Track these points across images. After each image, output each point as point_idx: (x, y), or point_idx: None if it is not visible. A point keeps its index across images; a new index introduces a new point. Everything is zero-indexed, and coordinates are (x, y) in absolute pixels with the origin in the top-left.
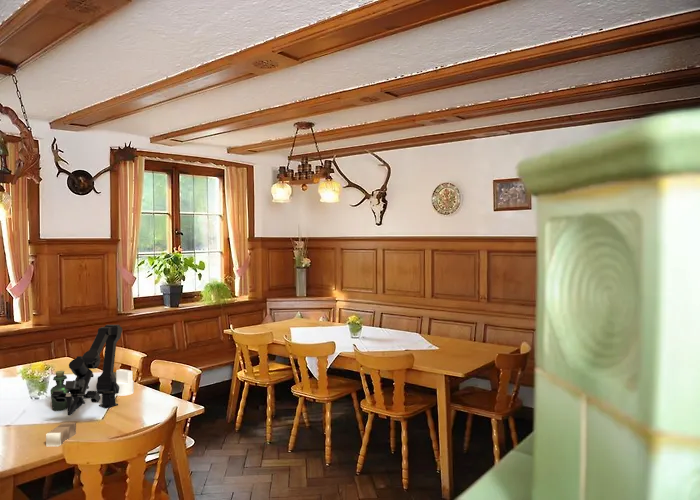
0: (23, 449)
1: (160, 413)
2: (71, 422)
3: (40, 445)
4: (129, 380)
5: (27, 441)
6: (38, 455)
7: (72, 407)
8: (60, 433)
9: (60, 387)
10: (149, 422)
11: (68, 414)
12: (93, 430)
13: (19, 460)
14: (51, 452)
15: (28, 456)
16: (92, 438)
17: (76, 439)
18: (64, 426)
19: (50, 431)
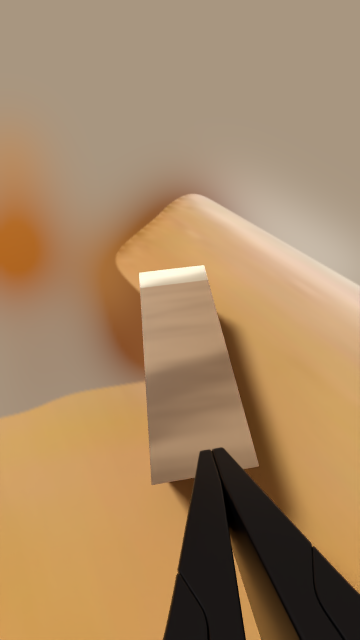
0: (260, 272)
1: None
2: (186, 465)
3: (230, 306)
4: None
5: (324, 332)
6: (170, 247)
7: (200, 547)
8: (140, 286)
9: None
10: None
11: (212, 450)
12: (69, 573)
13: (200, 220)
14: (143, 267)
15: (196, 239)
16: (31, 414)
17: (112, 388)
18: (182, 371)
19: (207, 291)
